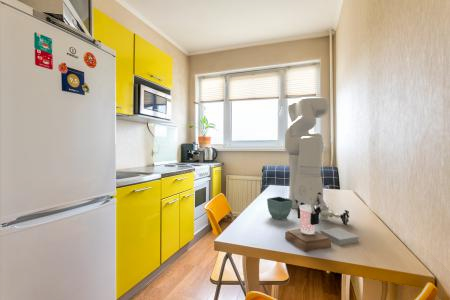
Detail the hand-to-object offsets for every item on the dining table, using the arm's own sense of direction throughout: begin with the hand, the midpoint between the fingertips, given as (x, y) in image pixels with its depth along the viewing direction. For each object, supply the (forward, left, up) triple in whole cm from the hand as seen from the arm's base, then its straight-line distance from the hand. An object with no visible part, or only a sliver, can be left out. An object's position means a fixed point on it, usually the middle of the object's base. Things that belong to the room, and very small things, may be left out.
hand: (307, 220), depth 79 cm
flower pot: (-26, +6, -8) cm, 28 cm away
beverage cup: (0, 0, -4) cm, 4 cm away
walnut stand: (0, 0, -8) cm, 8 cm away
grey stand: (+1, +14, -8) cm, 16 cm away
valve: (-14, +27, -8) cm, 32 cm away
